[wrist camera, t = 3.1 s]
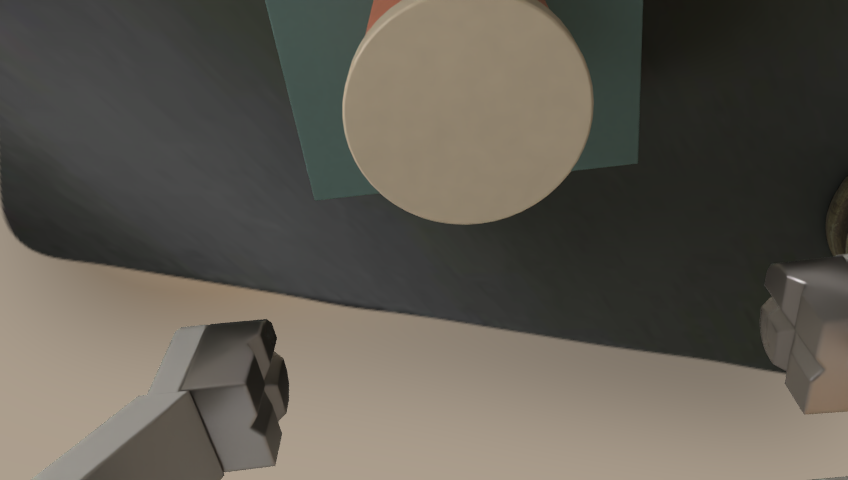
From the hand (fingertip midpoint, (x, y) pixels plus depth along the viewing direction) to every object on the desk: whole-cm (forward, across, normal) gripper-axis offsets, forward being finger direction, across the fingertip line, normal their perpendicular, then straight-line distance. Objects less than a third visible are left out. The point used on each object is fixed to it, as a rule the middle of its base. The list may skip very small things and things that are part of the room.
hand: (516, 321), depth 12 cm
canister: (+17, 0, 0) cm, 17 cm away
